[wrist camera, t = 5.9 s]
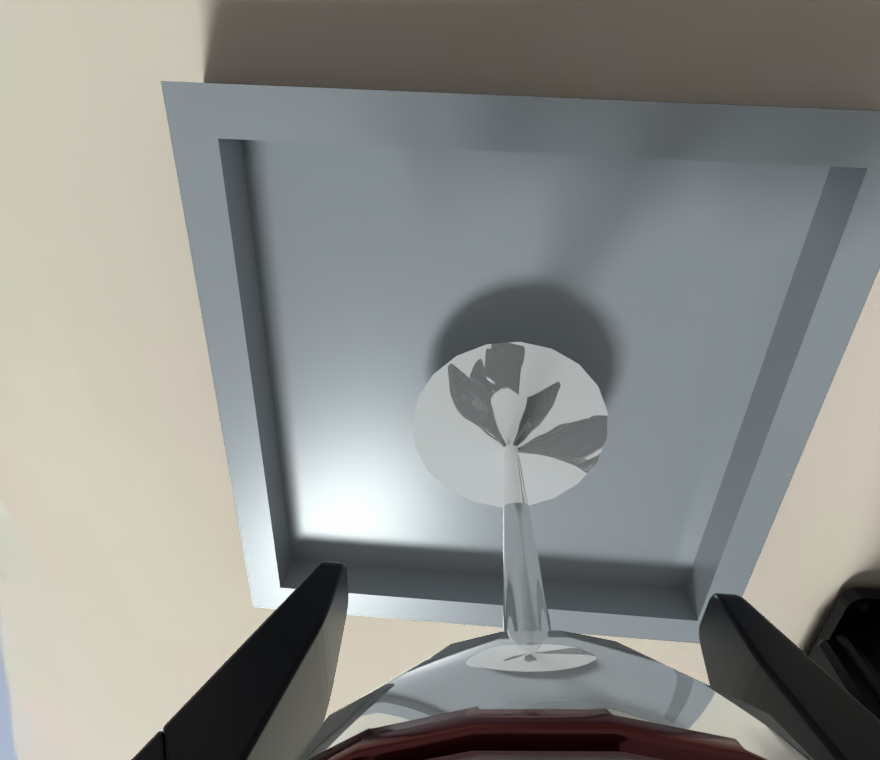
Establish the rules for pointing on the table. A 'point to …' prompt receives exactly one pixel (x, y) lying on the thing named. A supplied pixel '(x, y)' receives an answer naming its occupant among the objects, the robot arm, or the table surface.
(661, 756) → the wineglass
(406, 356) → the serving tray
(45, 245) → the table surface
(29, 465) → the table surface
